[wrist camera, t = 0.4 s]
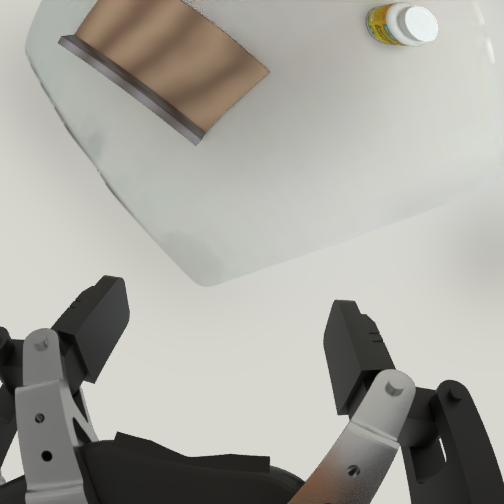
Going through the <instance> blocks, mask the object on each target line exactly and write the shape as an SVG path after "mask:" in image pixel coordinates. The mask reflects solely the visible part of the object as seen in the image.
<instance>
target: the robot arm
mask: <svg viewBox="0 0 504 504" xmlns="http://www.w3.org/2000/svg"><path fill="white" fill-rule="evenodd" d="M129 314H130V311H129V305H128V300H127V294H126V288H125V282H124V280H123V278H120V277H114V276H107V275H105V276H103V277H102V278H101V279H100V280H99V281H98V282H97V284H96V285H95V286H91V287H89V288H88V289H86V290H85V291H83V292H82V293H81V294H80V295H79V296H78V297H77V298H76V300H75V301H74V302H73V303H72V304H71V305H70V308H67V310H66V311H65V312H64V313H63V314H62V315H61V317H60V318H59V319H58V320H57V321H56V323H55V324H54V325H53V326H52V328H51V329H48V328H42V329H38V330H35V331H33V332H32V333H30V334H29V335H28V336H27V337H26V339H25V340H16V339H11V337H10V336H9V333H8V331H7V329H5V328H4V327H0V380H1V382H2V383H3V384H2V386H1V388H0V504H370V502H371V501H372V499H373V497H374V495H375V494H376V492H377V490H378V488H379V486H380V485H381V483H382V481H383V479H384V477H385V476H386V474H387V472H388V470H389V468H390V465H391V464H392V462H393V460H394V457H395V455H396V453H397V451H398V448H399V446H401V449H402V454H403V459H404V464H405V469H406V474H407V480H408V485H409V491H410V497H411V504H504V482H503V479H502V475H501V472H500V469H499V466H498V463H497V460H496V457H495V454H494V451H493V448H492V445H491V443H490V440H489V437H488V435H487V432H486V430H485V427H484V425H483V422H482V420H481V418H480V415H479V413H478V411H477V408H476V406H475V404H474V402H473V399H472V397H471V395H470V393H469V391H468V390H467V388H466V387H465V386H464V385H462V384H461V383H459V382H457V381H454V380H446V381H443V382H442V383H441V384H440V385H439V386H438V388H437V389H436V390H431V389H425V388H419V387H415V384H414V382H413V380H412V379H411V378H410V377H409V376H408V375H406V374H405V373H403V372H401V371H399V370H396V368H395V366H394V364H393V361H392V359H391V357H390V355H389V352H388V350H387V348H386V346H385V343H384V342H383V339H382V337H381V335H380V334H379V333H380V332H379V330H378V328H377V326H376V324H375V322H374V321H373V320H371V319H370V318H369V317H368V316H367V315H366V314H361V313H360V311H359V309H358V306H357V304H356V302H355V301H349V300H335V301H334V302H333V305H332V308H331V312H330V315H329V318H328V322H327V325H326V329H325V333H324V340H323V341H324V343H323V344H324V350H325V355H326V360H327V364H328V369H329V374H330V379H331V383H332V388H333V393H334V398H335V404H336V409H337V414H338V415H349V419H350V421H349V423H348V425H347V426H346V428H345V429H344V431H343V432H342V434H341V435H340V437H339V438H338V439H337V441H336V442H335V444H334V445H333V447H332V448H331V449H330V451H329V452H328V454H327V455H326V456H325V458H324V459H323V460H322V462H321V463H320V464H319V466H318V467H317V468H316V469H315V471H314V472H313V473H312V474H311V476H310V477H309V478H308V479H307V480H306V482H304V481H303V480H302V479H301V478H299V477H297V476H296V475H294V474H292V473H290V472H288V471H286V470H283V469H280V468H277V467H274V466H270V457H269V456H250V455H237V454H225V455H215V456H201V457H187V456H184V455H181V454H179V453H177V452H175V451H172V450H170V449H168V448H166V447H163V446H161V445H159V444H157V443H155V442H153V441H151V440H147V439H143V438H139V437H135V436H131V435H128V434H124V433H121V432H117V433H116V436H115V439H114V440H102V441H99V440H98V438H97V436H96V434H95V432H94V429H93V426H92V423H91V420H90V416H89V413H88V410H87V406H86V402H85V398H84V395H83V391H82V388H81V386H80V385H81V383H82V382H83V380H84V381H87V382H90V383H94V384H95V382H96V380H97V378H98V376H99V374H100V372H101V370H102V368H103V367H104V365H105V363H106V361H107V359H108V358H109V356H110V354H111V352H112V351H113V349H114V347H115V345H116V344H117V342H118V340H119V338H120V337H121V335H122V333H123V331H124V330H125V328H126V326H127V324H128V322H129ZM17 430H18V438H19V445H20V452H21V458H22V463H23V469H24V473H25V475H22V476H20V477H18V478H16V479H14V480H11V481H9V482H7V483H6V481H5V479H4V478H3V477H2V476H1V466H2V464H3V461H4V459H5V456H6V454H7V451H8V449H9V447H10V445H11V442H12V440H13V438H14V436H15V434H16V431H17ZM440 438H441V440H442V443H443V447H444V450H445V454H446V462H445V458H444V454H443V451H442V448H441V444H440V441H439V439H440Z"/></svg>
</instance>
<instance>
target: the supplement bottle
mask: <svg viewBox="0 0 504 504" xmlns="http://www.w3.org/2000/svg"><path fill="white" fill-rule="evenodd" d="M366 22H367V27H368V30H369V32H370V33H371V35H372V36H373V37H374V38H376V39H377V40H378V41H380V42H382V43H386V44H394V45H403V46H420V45H423V44H424V43H426V42H430V41H432V40H434V39H435V38H436V37H437V34H438V24H437V21H436V19H435V17H434V16H433V15H432V13H431V12H429V11H428V10H427V9H425V8H423V7H420V6H415V5H413V4H410V3H405V2H400V3H394V4H390V5H385V6H381V7H377V8H374V9H372V10H371V11H370V12H369V13H368V15H367V20H366Z"/></svg>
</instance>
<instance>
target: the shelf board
mask: <svg viewBox="0 0 504 504" xmlns="http://www.w3.org/2000/svg"><path fill="white" fill-rule="evenodd" d="M58 43H59V44H60V45H62V46H63V47H65V48H66V49H67V50H69V51H70V52H72V53H73V54H75V55H76V56H78V57H79V58H81V59H82V60H83V61H85V62H86V63H88V64H89V65H91V66H92V67H93V68H95V69H96V70H98V71H99V72H100V73H102V74H103V75H104V76H106V77H107V78H109V79H110V80H111V81H113V82H114V83H115V84H117V85H118V86H120V87H121V88H122V89H124V90H125V91H126V92H128V93H129V94H130V95H132V96H133V97H134V98H136V99H137V100H138V101H139V102H141V103H142V104H143V105H145V106H146V107H147V108H149V109H150V110H151V111H152V112H154V113H155V114H156V115H158V116H159V117H160V118H161V119H163V120H164V121H165V122H167V123H168V124H169V125H170V126H172V127H173V128H174V129H175V130H177V131H178V132H179V133H180V134H182V135H183V136H184V137H185V138H187V139H188V140H189V141H190V142H192V143H193V144H194V145H195V146H196V145H197V144H198V143H199V142H200V141H201V140H202V138H203V136H204V135H205V133H206V132H207V131H208V130H209V129H210V128H211V127H212V126H213V124H214V123H215V122H216V121H217V120H218V119H219V118H220V117H221V116H222V115H223V114H224V113H226V112H227V111H228V110H229V109H230V108H231V107H232V106H233V105H234V104H235V103H236V102H237V101H238V100H239V99H240V98H241V97H242V96H243V95H244V94H245V93H247V92H248V91H249V90H250V89H251V88H252V87H253V86H254V85H255V84H256V83H258V82H259V81H260V80H261V79H262V78H263V77H264V76H265V75H267V74H268V73H269V71H268V70H267V69H266V68H265V67H264V66H263V65H262V64H261V63H260V62H258V61H257V60H256V59H255V58H254V57H253V56H252V55H251V54H249V53H248V52H247V51H246V50H245V49H244V48H243V47H241V46H240V45H239V44H238V43H237V42H235V41H234V40H233V39H232V38H231V37H229V36H228V35H227V34H226V33H224V32H223V31H222V30H221V29H219V28H218V27H217V26H215V25H214V24H213V23H212V22H210V21H209V20H208V19H206V18H205V17H203V16H202V15H201V14H199V13H198V12H197V11H195V10H194V9H192V8H191V7H189V6H188V5H187V4H185V3H184V2H182V1H181V0H98V1H97V3H96V4H95V5H94V7H93V8H92V9H91V11H90V12H89V14H88V15H87V16H86V18H85V19H84V21H83V22H82V24H81V25H80V27H79V28H78V30H77V31H76V33H75V34H74V35H68V36H61V38H60V40H59V41H58Z"/></svg>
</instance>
